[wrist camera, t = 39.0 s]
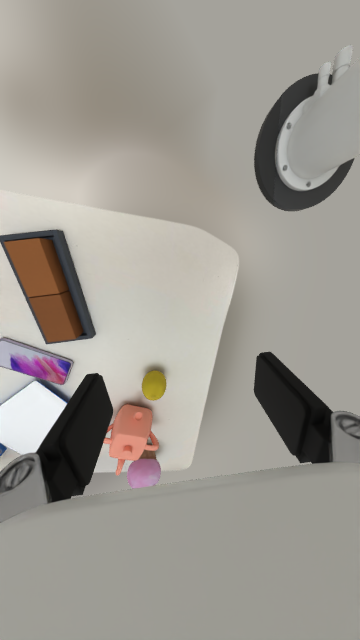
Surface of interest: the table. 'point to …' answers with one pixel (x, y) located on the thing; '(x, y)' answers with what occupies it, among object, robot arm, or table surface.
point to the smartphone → (34, 362)
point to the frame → (68, 272)
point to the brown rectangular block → (37, 266)
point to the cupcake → (144, 470)
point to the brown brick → (57, 316)
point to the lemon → (154, 385)
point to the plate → (29, 417)
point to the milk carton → (2, 449)
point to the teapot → (130, 434)
